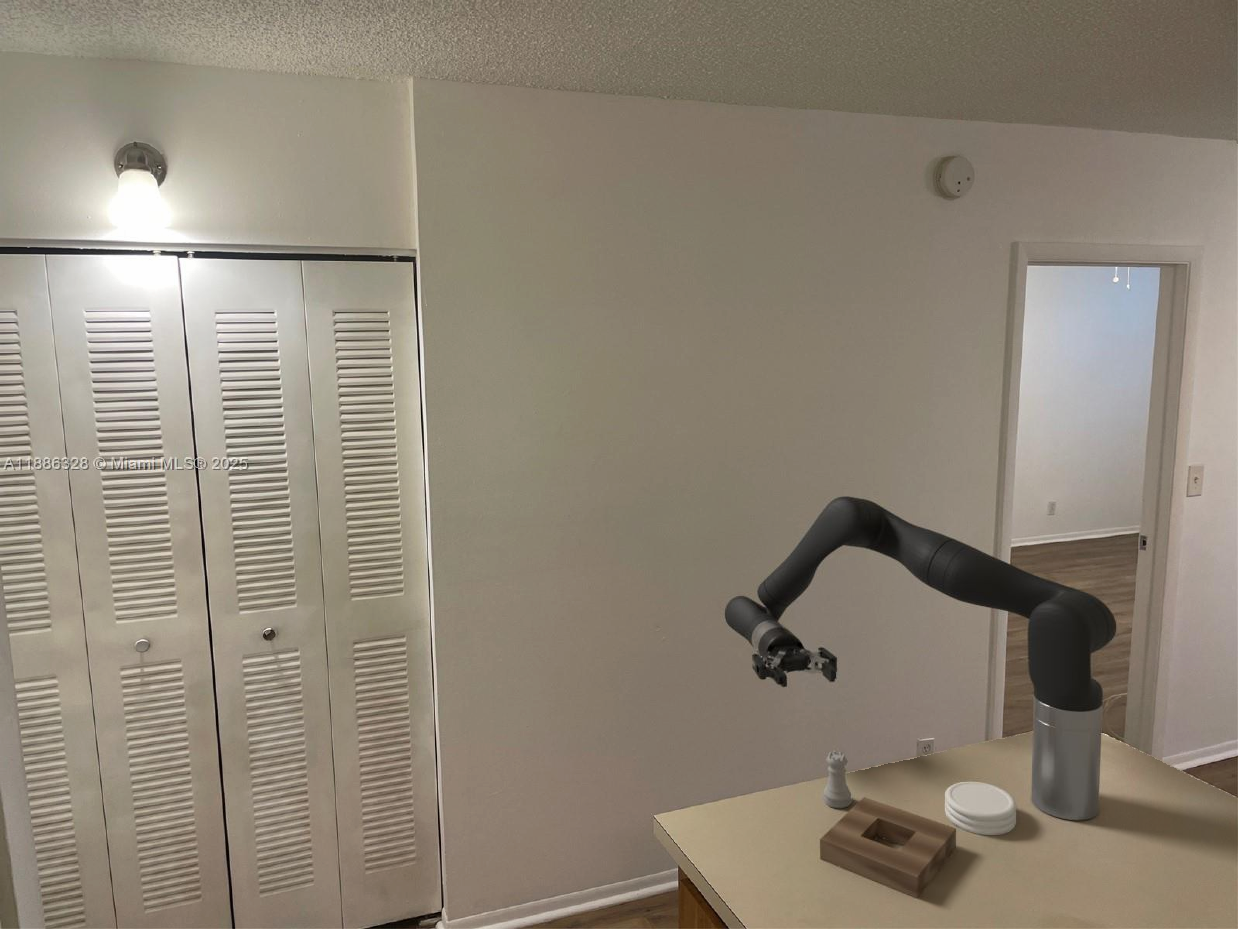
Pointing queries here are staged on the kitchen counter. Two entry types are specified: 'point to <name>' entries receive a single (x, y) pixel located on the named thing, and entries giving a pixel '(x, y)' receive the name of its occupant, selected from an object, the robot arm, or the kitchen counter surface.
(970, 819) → the coaster
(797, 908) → the kitchen counter surface
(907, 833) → the socket block
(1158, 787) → the kitchen counter surface
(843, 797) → the rook chess piece
